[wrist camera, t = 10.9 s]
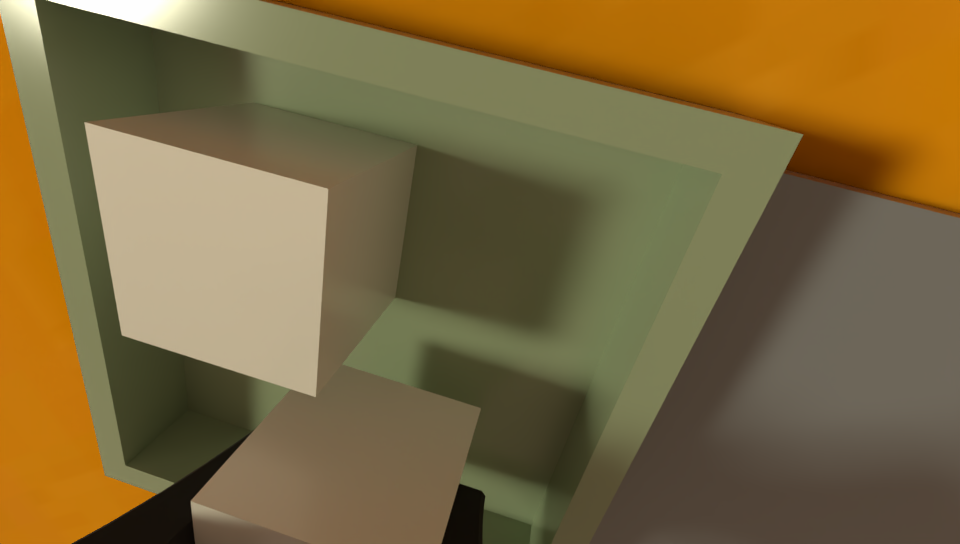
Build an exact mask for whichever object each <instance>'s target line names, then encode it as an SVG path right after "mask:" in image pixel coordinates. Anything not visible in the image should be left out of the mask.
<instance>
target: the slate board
mask: <svg viewBox="0 0 960 544" xmlns="http://www.w3.org/2000/svg"><path fill="white" fill-rule="evenodd" d="M589 544H960V214H959V213H955V212H951V211H947V210H944V209H940V208H936V207H932V206H928V205H924V204H920V203H916V202H912V201H908V200H904V199H900V198H896V197H892V196H888V195H884V194H880V193H876V192H873V191H869V190H865V189H861V188H857V187H853V186H849V185H845V184H841V183H837V182H833V181H829V180H825V179H821V178H817V177H813V176H809V175H805V174H801V173H798V172H794V171H790V170H786V169H785V171H784V173H783V175H782V176H781V178H780V180H779V182H778V184H777V186H776V188H775V190H774V192H773V194H772V196H771V197H770V199H769V201H768V203H767V205H766V207H765V209H764V211H763V213H762V215H761V217H760V218H759V220H758V222H757V224H756V226H755V228H754V230H753V232H752V234H751V236H750V238H749V239H748V241H747V243H746V245H745V247H744V249H743V251H742V253H741V255H740V257H739V259H738V260H737V262H736V264H735V266H734V268H733V270H732V272H731V274H730V276H729V278H728V280H727V281H726V283H725V285H724V287H723V289H722V291H721V293H720V295H719V297H718V299H717V301H716V303H715V304H714V306H713V308H712V310H711V312H710V314H709V316H708V318H707V320H706V322H705V324H704V325H703V327H702V329H701V331H700V333H699V335H698V337H697V339H696V341H695V343H694V345H693V346H692V348H691V350H690V352H689V354H688V356H687V358H686V360H685V362H684V364H683V366H682V367H681V369H680V371H679V373H678V375H677V377H676V379H675V381H674V383H673V385H672V387H671V388H670V390H669V392H668V394H667V396H666V398H665V400H664V402H663V404H662V406H661V408H660V409H659V411H658V413H657V415H656V417H655V419H654V421H653V423H652V425H651V427H650V429H649V430H648V432H647V434H646V436H645V438H644V440H643V442H642V444H641V446H640V448H639V450H638V452H637V453H636V455H635V457H634V459H633V461H632V463H631V465H630V467H629V469H628V471H627V473H626V474H625V476H624V478H623V480H622V482H621V484H620V486H619V488H618V490H617V492H616V494H615V495H614V497H613V499H612V501H611V503H610V505H609V507H608V509H607V511H606V513H605V515H604V516H603V518H602V520H601V522H600V524H599V526H598V528H597V530H596V532H595V534H594V536H593V537H592V539H591V541H590V543H589Z"/></svg>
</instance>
